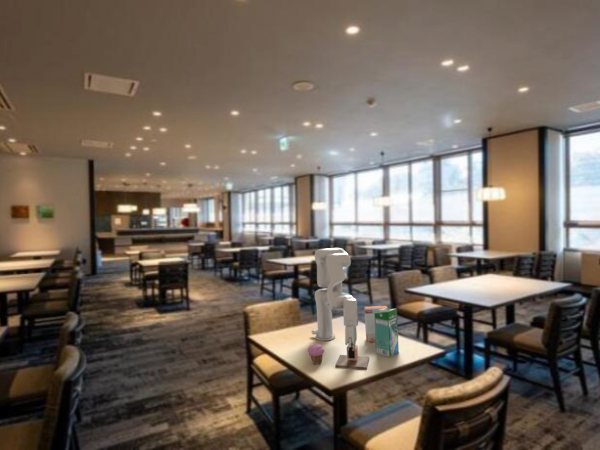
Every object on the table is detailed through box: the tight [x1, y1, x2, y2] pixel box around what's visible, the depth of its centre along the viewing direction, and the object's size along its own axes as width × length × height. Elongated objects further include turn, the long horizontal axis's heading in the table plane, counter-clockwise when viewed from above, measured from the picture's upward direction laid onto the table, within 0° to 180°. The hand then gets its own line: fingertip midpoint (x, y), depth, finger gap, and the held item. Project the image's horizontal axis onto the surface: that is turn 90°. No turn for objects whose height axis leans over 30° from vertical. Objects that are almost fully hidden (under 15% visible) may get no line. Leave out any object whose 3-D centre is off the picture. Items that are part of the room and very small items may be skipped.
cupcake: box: [307, 343, 325, 365], centre depth 192 cm, size 9×9×10 cm
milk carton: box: [374, 308, 400, 358], centre depth 201 cm, size 9×9×25 cm
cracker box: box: [363, 305, 389, 343], centre depth 222 cm, size 14×6×21 cm, turn 84°
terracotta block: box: [346, 345, 359, 360], centre depth 189 cm, size 5×5×6 cm
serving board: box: [334, 354, 370, 370], centre depth 189 cm, size 16×14×1 cm
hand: (352, 355), depth 189 cm, fingers closed on terracotta block, 5 cm apart
